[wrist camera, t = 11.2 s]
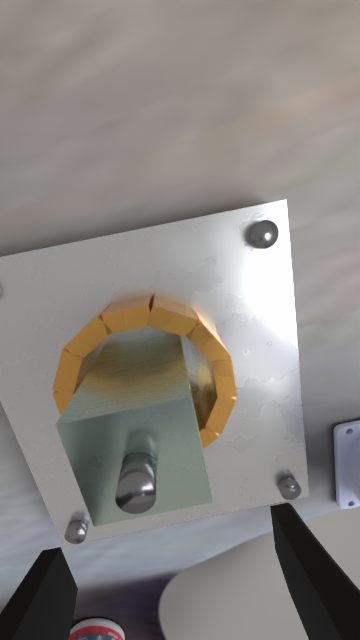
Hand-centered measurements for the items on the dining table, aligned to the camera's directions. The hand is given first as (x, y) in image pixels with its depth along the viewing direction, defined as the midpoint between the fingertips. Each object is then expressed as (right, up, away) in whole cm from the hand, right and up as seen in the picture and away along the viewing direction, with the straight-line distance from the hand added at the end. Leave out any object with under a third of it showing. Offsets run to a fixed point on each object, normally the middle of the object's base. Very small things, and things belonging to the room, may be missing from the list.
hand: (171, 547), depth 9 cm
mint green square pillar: (-2, +5, +7) cm, 8 cm away
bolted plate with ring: (-1, +3, +9) cm, 10 cm away
